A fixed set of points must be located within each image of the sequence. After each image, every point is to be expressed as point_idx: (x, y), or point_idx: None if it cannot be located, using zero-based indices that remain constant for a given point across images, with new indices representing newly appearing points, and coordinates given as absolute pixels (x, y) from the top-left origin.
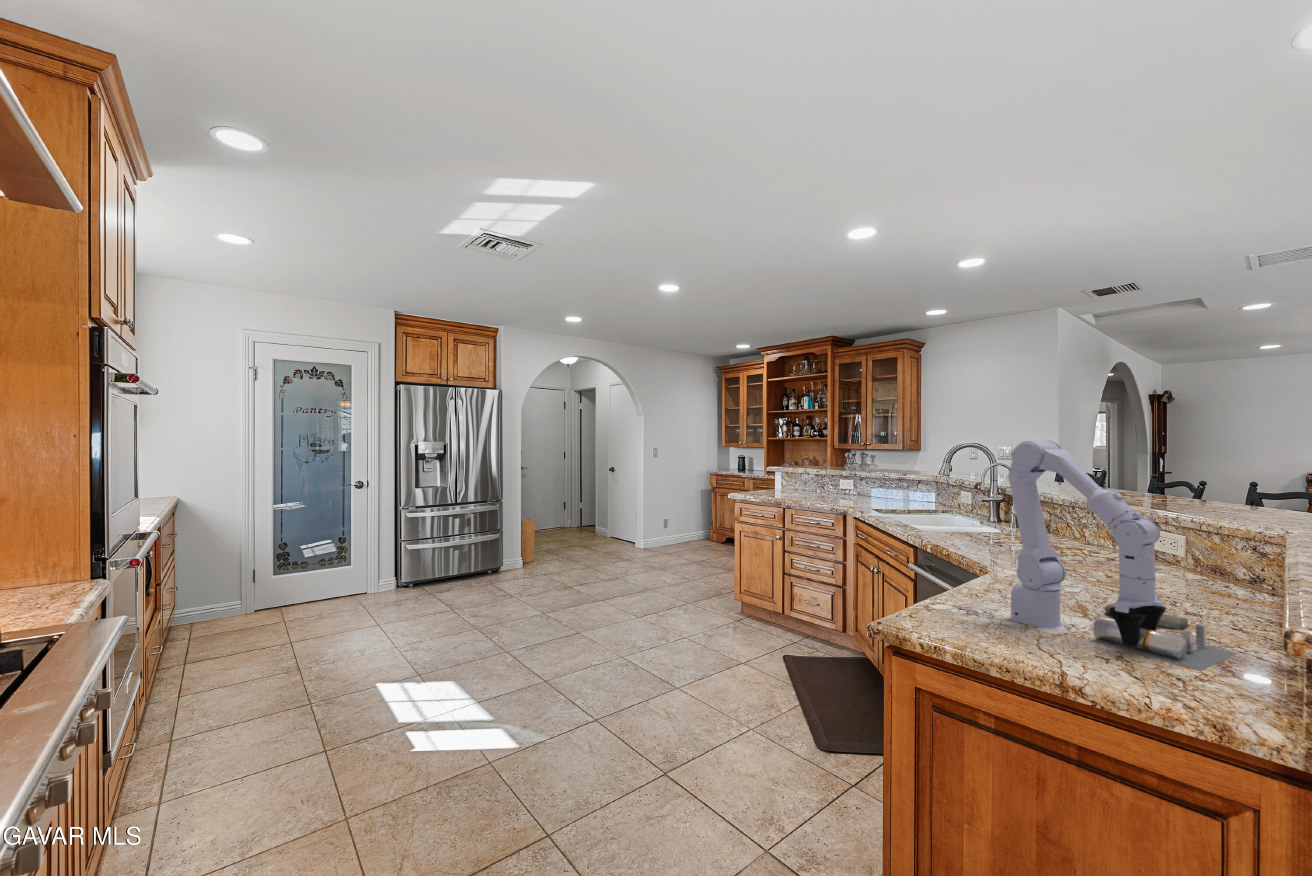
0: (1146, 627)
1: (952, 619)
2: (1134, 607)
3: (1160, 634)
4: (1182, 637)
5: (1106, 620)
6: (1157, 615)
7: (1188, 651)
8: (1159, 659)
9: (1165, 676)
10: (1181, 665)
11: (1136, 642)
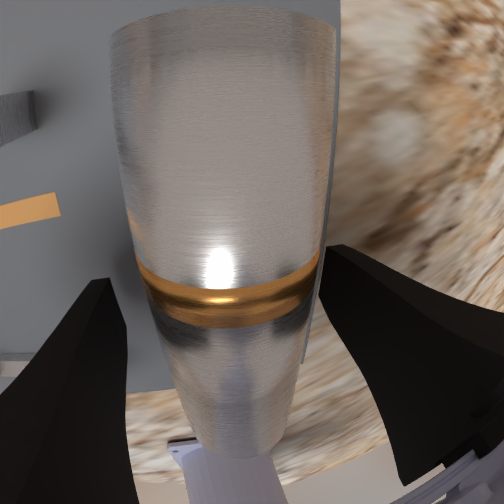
0: (106, 364)
1: (342, 450)
2: (417, 498)
3: (303, 195)
4: (224, 7)
5: (257, 443)
6: (50, 443)
7: (27, 101)
8: (333, 119)
9: (462, 65)
10: (339, 21)
11: (361, 253)
